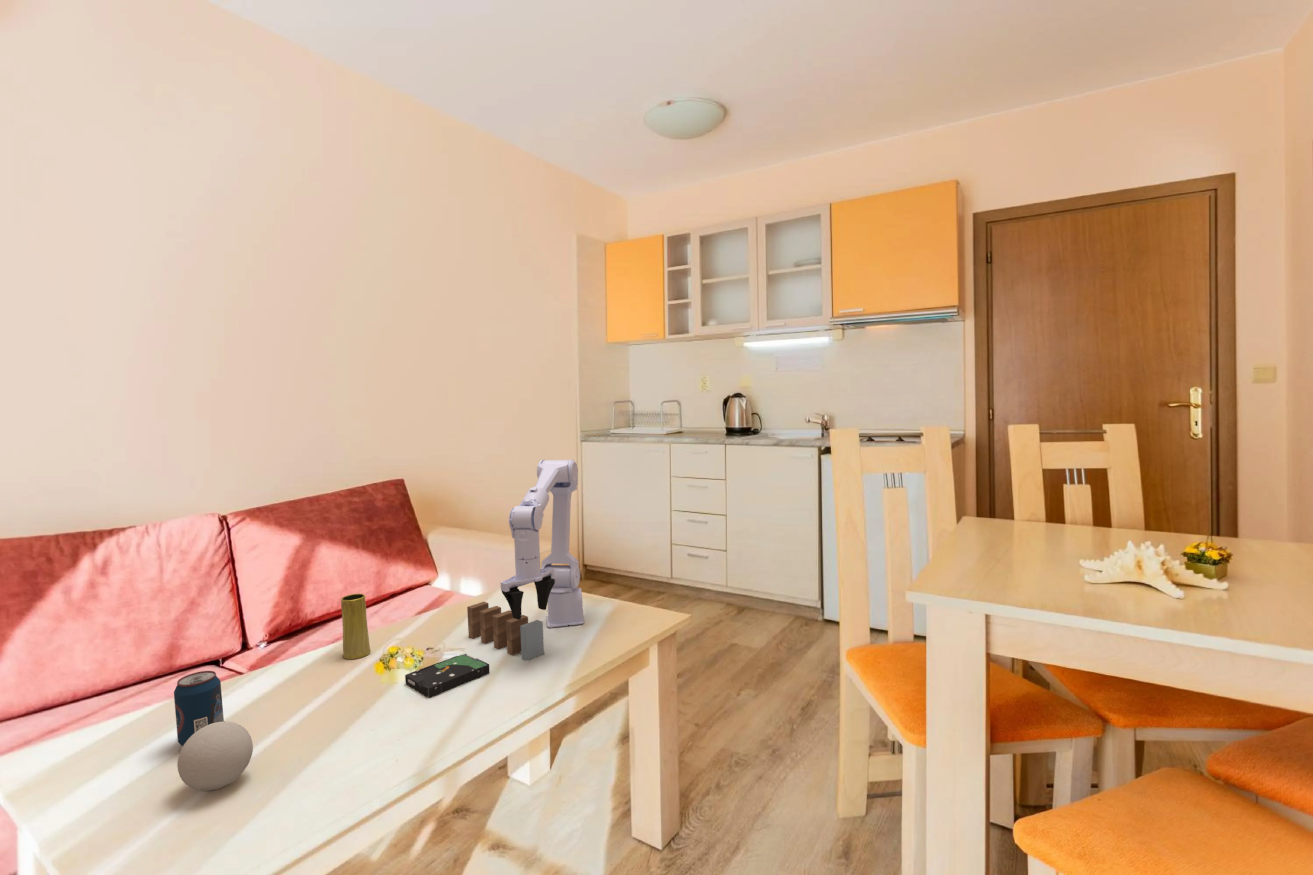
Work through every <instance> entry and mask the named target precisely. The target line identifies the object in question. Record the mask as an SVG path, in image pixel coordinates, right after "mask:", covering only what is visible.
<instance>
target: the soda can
mask: <svg viewBox="0 0 1313 875" xmlns="http://www.w3.org/2000/svg"><path fill="white" fill-rule="evenodd" d="M173 698H174V699H173V700H174V710H175V711H174V712H175V723H176V733H177V743H178V744H179V745H180V746H181V747H183V746H184V744H185V743H186V741H187V740H188V739H189V738H190V737H191V736H192V735H193V734H194V733H195V732H197V731H198V730H199V729H201V728H203V727H205V726H207V725H209V724H212V723H216V722H225V721H224V709H223V708H224V707H223V706H224V705H223V696H222V684H221V680H220V678H219V677H218V676H217V672H215V671H213V670H202V671H201V670H200V671H196V672H193V673H189V674H187V675H184V676H183V677H181V678H179V679H178V680H177V682H176V686H175V689H174V690H173Z"/></svg>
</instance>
